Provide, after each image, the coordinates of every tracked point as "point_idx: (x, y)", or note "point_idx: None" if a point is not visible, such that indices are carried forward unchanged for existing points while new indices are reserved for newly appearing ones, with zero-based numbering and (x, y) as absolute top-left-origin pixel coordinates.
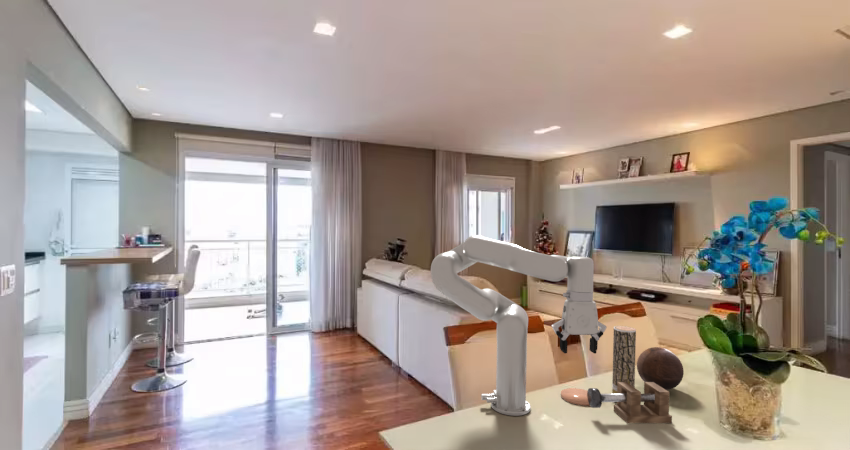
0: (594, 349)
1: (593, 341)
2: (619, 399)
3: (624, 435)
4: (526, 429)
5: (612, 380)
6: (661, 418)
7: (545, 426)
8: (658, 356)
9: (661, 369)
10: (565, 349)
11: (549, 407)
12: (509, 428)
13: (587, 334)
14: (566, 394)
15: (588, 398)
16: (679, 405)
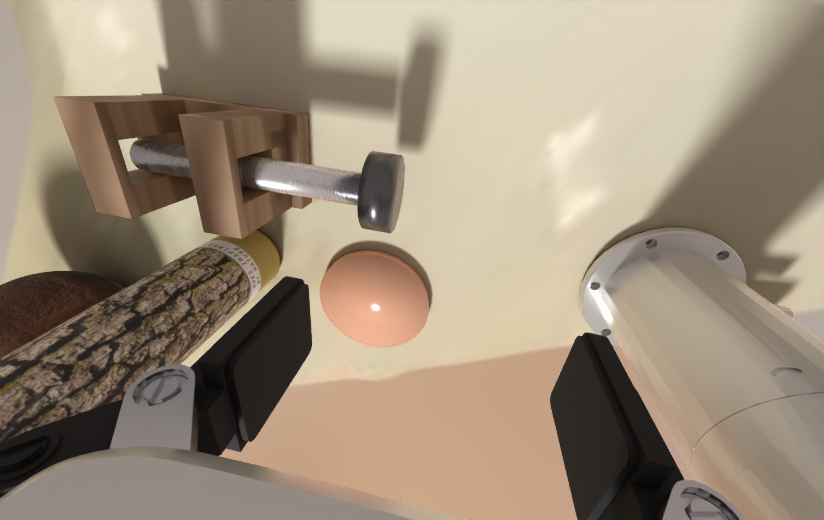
0: (284, 301)
1: (241, 373)
2: (286, 162)
3: (365, 18)
4: (731, 122)
5: (244, 303)
6: (182, 98)
7: (630, 135)
8: (5, 353)
9: (46, 307)
10: (618, 362)
11: (511, 264)
12: (800, 141)
13: (290, 479)
14: (410, 316)
15: (396, 214)
16: None
